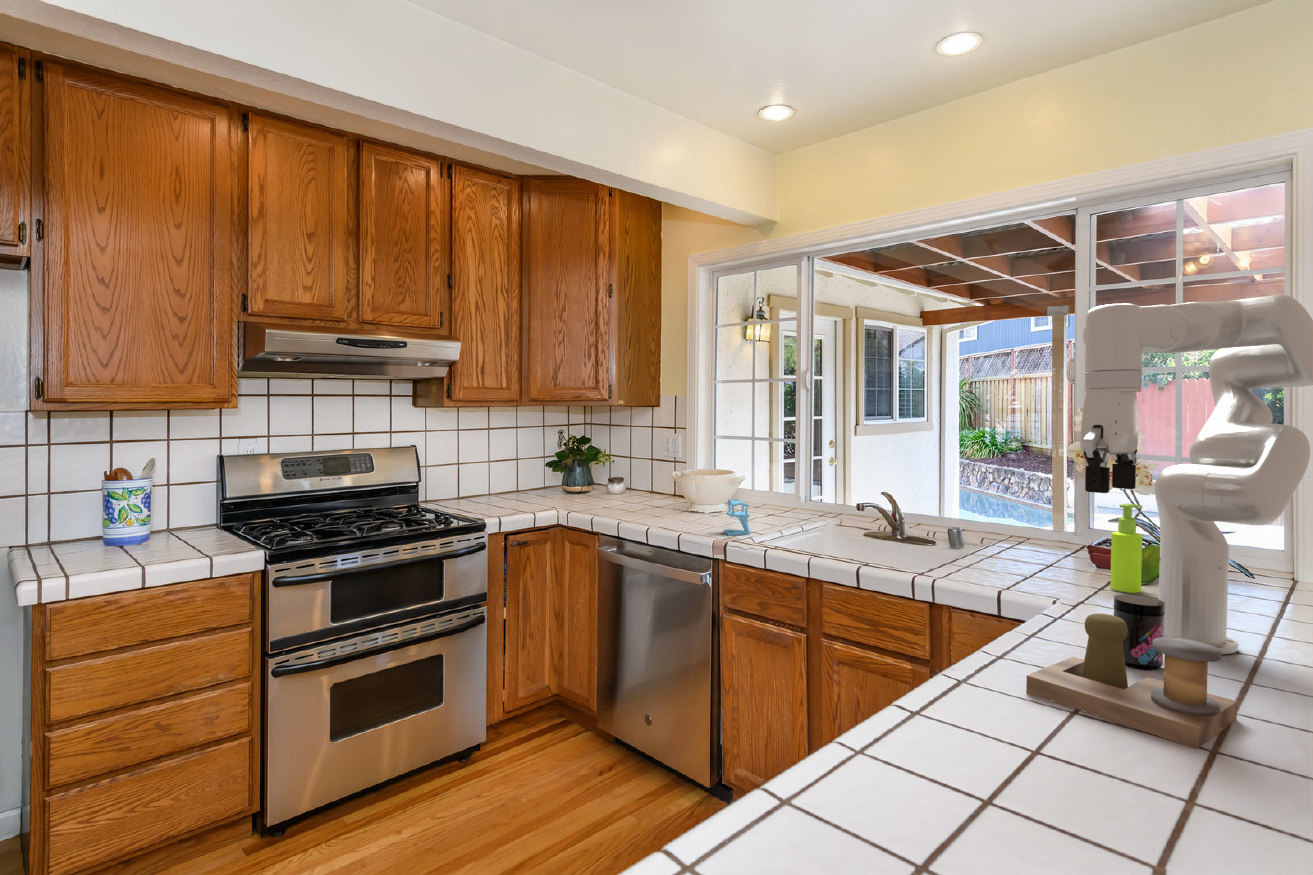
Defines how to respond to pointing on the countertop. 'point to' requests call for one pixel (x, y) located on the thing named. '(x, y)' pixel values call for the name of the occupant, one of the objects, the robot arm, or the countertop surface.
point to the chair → (741, 515)
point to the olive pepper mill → (1105, 650)
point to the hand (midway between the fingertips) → (1110, 490)
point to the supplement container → (1141, 630)
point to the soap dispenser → (1126, 554)
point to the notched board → (1148, 694)
